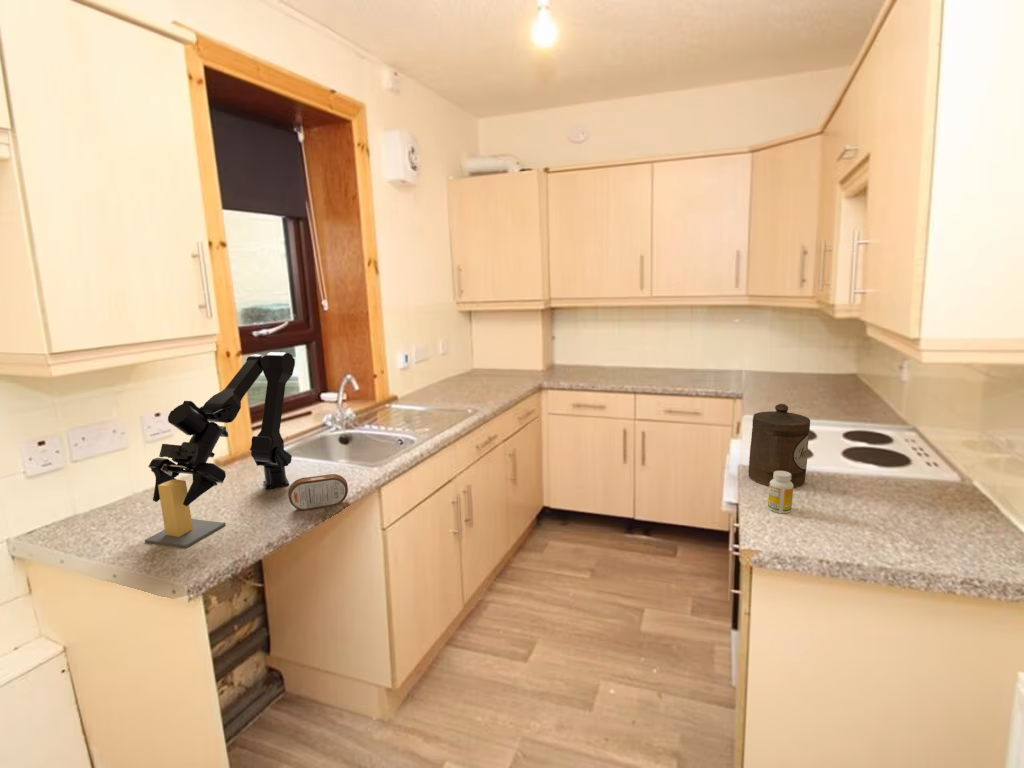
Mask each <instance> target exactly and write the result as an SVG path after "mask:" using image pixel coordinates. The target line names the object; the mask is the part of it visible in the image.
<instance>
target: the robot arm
mask: <svg viewBox="0 0 1024 768" xmlns="http://www.w3.org/2000/svg"><path fill="white" fill-rule="evenodd" d="M295 365H296V359H295V358H294V356H293V355H292V354H291V353H289V352H268V353H267V354H266V355H265V354H251V355H248V356H247V358H246V361H245V363H244V364H243V365H242V366H241V367H240V369H239V370H238V371H237V373H236V374H235V375H234V377H233V378H231V380H230V382H229V383H228V384H227V385H226V386H225V388H224V389H222V390H221V391H219V392H217V393H216V394H213V395H212V396H211V397H210V398H209V399H208V400H207V401H206V402H205V403H204V404H203V405H202V406H200V407H199V406H197V405H196V404H195V402H194V401H192V400H183V402H182V404H179V405H178V406H176V407H175V408H173V409H172V410H171V411H170V412H169V414H168V417H167V422H168V423H169V424H170V425H172V426H173V427H175V428H176V429H178V431H180V432H182V433H183V434H185V435H187V436H190V437H191V438H190V439H189V441H188V442H187V441H183V442H182V443H181V445H180V444H179V445H178V444H171V443H170V444H169V443H162V444H161V448H160V452H159V456H158V457H155V458H152V460H151V461H150V463H149V464H148V468H149V469H150V471H151V472H152V473H153V474H154V477H155V484H154V491H153V497H152V501H153V502H155V503H157V502H160V495H159V489H158V485H160V484H162V483H165V482H167V481H170V480H172V479H175V480H178V479H177V477H178V476H179V475H180V474H186V475H192V482H191V485H190V487H189V489H188V490H187V495H186V497H185V500H184V502H183V505H185V506H188V505H189V506H190V504H192V503H193V502H194V501H196V500H197V499H198V498H200V496H202V495H203V494H205V493H206V492H207V491H209V490H210V489H212V488H213V487H216V486H218V484H223V483H224V482H225V479H226V477H227V476H226V470H224V469H223V468H220V467H219V466H218V465H216V464H215V463H212V462H208V460H209V458H214V457H215V455H216V453H214V452H213V450H214V448H215V447H216V445H217V443H218V441H219V440H220V438H221V437H222V438H228V437H229V433H228V430H227V427H226V426H224V425H219V424H217V423H222V424H223V423H224V424H229V423H232V422H233V421H234V420H235V419H236V418H237V416H238V414H239V413H240V410H241V408H242V400H243V398H244V397H245V396H246V394H247V392H248V391H249V390H250V389H251V388H252V386H253V385H254V383H255V382H256V381H257V379H258V378H259V377H260V375H261V374H262V373H263V375H264V378H265V379H266V381H267V382H266V383H267V384H266V389H265V399H264V406H263V413H262V422H261V428H260V431H259V432H258V434H257V435H254V436H252V438H251V444H250V448H249V451H250V454H251V458H253V460H254V463H255V464H256V466H261V467H263V472H264V480H263V482H262V483H263V486H264V489H265V490H269V489H275V488H281V487H285V486H289V485H290V482H289V480H288V478H287V474H286V473H287V472H286V467H288V466H289V465H290V464H291V463H292V458H293V457H292V455H291V454H290V453H289V452H288V451H286V450H285V449H284V448H285V442H284V439H283V436H282V435H281V433H280V432H281V424H282V413H283V406H284V399H285V392H286V384H287V383H288V381H289V380H290V379H291V377H293V374H294V370H295V367H296V366H295ZM170 459H171V460H170Z"/></svg>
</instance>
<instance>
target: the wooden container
mask: <svg viewBox="0 0 1024 768" xmlns="http://www.w3.org/2000/svg"><path fill="white" fill-rule="evenodd" d="M774 409H775V411H773V410H772V411H760V412H756V413H754V414H753V416H752V424H751V425H752V429H751V438H750V439H751V440H750V448H749V460H748V463H749V464H748V477H749V479H750V480H752V481H754V482H756V483H758V484H761V485H763V484H764V486H767V487H768V486H769V485H770V481H771V480H772V479H774V478H773V474H774V472H775V471H786V472H789V473H791V480H790V481H791V482H792V483H793V488H798V487H801V486H803V485H805V483H806V474H807V465H808V454H809V453H808V452H809V437H810V430H811V429H810V428H811V419H810V418H809V417H807V416H805V415H803V414H802V415H801V414H798V413H794V412H789V406H788V405H786V404H785V403H779V404H777V405H775V406H774Z"/></svg>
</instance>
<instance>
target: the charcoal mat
mask: <svg viewBox="0 0 1024 768" xmlns="http://www.w3.org/2000/svg"><path fill="white" fill-rule="evenodd" d="M191 520H192V527H193V530H191V531H189V532H187V533H185V534H183V535H181V536H179V537H177V536H170V535H166V533H165V529H163V530H161V531H159V532H156V533H155V534H153V535H151V536H150V537H148V538H146V539H145V538H144V542H145V543H147V544H148V543H149V544H154V545H155V544H156V545H163V546H170V547H177V548H184V549H186V548H189V547H190V546H192V545H194V544H195V543H197V542H199V541H200V540H203V539H205V538H206V537H208V536H209V535H211V534H213V533H215V532H216V531H219V529H222V528H223V527H225V526H226V522H220V521H211V520H205V519H195V518H191Z"/></svg>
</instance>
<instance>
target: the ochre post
mask: <svg viewBox="0 0 1024 768" xmlns="http://www.w3.org/2000/svg"><path fill="white" fill-rule="evenodd" d="M175 479H176V478H175ZM175 479H172V480H170V481H167V482H165V483H162V484H160V485H158V489H159V495H160V500H159V502H160V509H161V512H162V513H161V514H162V518H163V520H162V521H163V526H164V530H165V533H166V535H170V536H177V537H179V536H181V535H183V534H185V533H187V532H189V531H191V530H193V527H192V520H191V519H192V515H191V508H190V504H189V505H188V506H185V505H183V502H184V500H185V497H186V495H187V493H188V487H187V481H186V480H184V479H183V480H182V479H177V480H175Z"/></svg>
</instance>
